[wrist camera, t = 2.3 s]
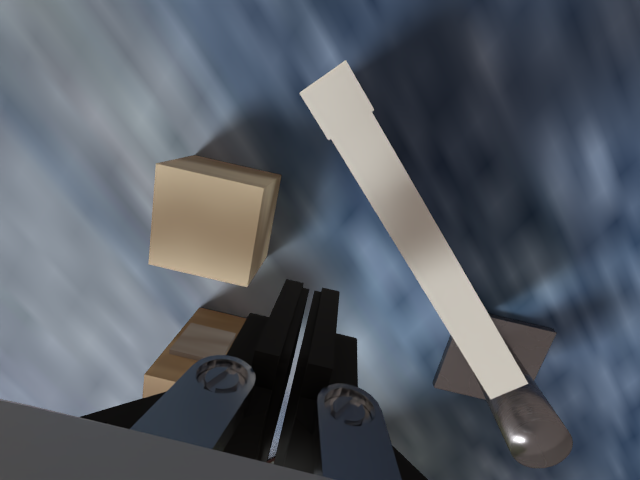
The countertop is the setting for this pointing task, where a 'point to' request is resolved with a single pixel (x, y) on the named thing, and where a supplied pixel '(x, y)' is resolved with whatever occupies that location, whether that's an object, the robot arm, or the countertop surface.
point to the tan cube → (212, 218)
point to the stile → (192, 348)
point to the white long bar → (411, 225)
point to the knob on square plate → (515, 395)
